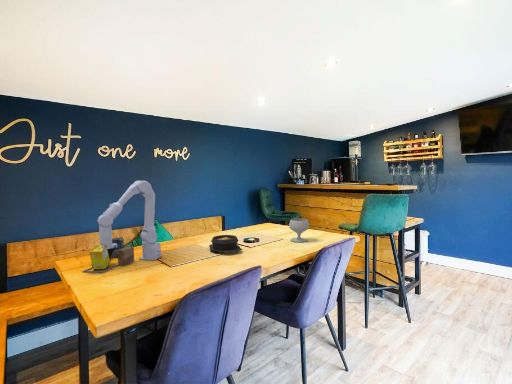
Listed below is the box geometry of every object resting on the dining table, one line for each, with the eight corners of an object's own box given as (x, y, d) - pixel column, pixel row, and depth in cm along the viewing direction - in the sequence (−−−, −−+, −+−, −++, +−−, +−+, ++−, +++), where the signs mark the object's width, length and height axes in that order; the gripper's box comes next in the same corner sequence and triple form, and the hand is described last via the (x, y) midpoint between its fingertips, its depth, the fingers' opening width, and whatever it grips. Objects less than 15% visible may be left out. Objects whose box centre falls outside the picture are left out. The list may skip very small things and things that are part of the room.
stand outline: (117, 266, 146) (117, 265, 146) (103, 273, 136) (103, 272, 136) (98, 265, 148) (98, 264, 148) (82, 272, 138) (82, 271, 137)
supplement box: (98, 263, 145) (94, 245, 142) (110, 263, 146) (106, 244, 142) (93, 270, 140) (88, 251, 136) (105, 270, 140) (101, 251, 136)
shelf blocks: (134, 261, 155) (133, 246, 154) (125, 265, 147) (124, 250, 146) (104, 259, 158) (104, 245, 157) (94, 264, 150) (93, 249, 149)
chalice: (312, 239, 203) (312, 219, 203) (304, 243, 192) (304, 221, 191) (294, 237, 211) (294, 217, 210) (285, 241, 199) (285, 220, 198)
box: (109, 259, 160) (108, 240, 159) (107, 256, 165) (107, 238, 164) (124, 256, 164) (123, 238, 164) (122, 254, 169) (122, 236, 168)
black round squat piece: (249, 252, 172) (248, 238, 172) (222, 257, 161) (222, 243, 160) (226, 244, 192) (226, 232, 191) (201, 249, 180) (201, 236, 180)
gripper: (108, 234, 153) (109, 259, 154) (88, 241, 139) (89, 268, 140) (120, 235, 152) (121, 260, 153) (101, 241, 138) (102, 268, 139)
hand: (106, 264), depth 146 cm, fingers closed
